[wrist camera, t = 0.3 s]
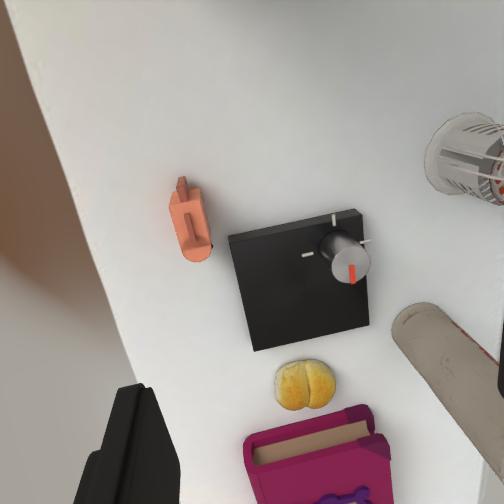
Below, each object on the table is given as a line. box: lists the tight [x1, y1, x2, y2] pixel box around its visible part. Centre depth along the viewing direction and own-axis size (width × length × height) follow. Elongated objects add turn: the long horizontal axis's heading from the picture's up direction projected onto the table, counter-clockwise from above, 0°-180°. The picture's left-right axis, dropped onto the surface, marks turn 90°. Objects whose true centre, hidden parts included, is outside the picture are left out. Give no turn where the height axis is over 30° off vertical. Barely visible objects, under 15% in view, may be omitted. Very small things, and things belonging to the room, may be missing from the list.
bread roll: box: [275, 360, 336, 411], centre depth 55 cm, size 8×9×4 cm
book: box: [243, 404, 394, 504], centre depth 62 cm, size 21×28×8 cm
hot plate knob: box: [319, 231, 371, 284], centre depth 44 cm, size 4×4×5 cm
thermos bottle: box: [391, 303, 504, 484], centre depth 43 cm, size 8×8×28 cm
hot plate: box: [228, 209, 371, 352], centre depth 49 cm, size 17×17×3 cm
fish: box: [169, 176, 213, 262], centre depth 42 cm, size 8×3×6 cm, turn 11°
